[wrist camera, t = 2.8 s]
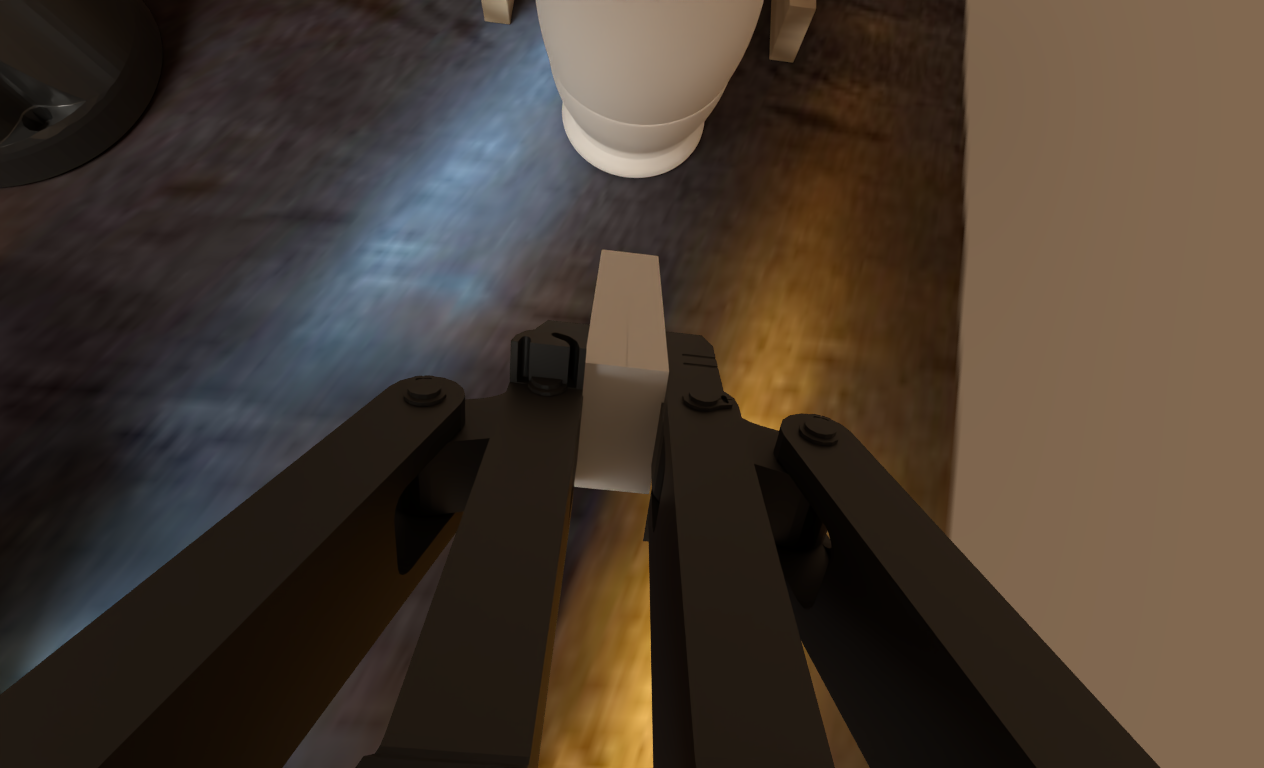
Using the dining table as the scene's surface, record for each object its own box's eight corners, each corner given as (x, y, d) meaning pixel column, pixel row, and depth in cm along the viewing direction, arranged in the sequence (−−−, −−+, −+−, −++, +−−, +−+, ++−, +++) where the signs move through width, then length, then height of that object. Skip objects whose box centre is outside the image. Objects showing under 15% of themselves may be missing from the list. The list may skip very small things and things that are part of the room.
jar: (570, 26, 39) (565, -286, 25) (734, 68, 39) (824, -219, 25) (523, 172, 36) (486, -87, 22) (700, 216, 36) (781, -12, 22)
